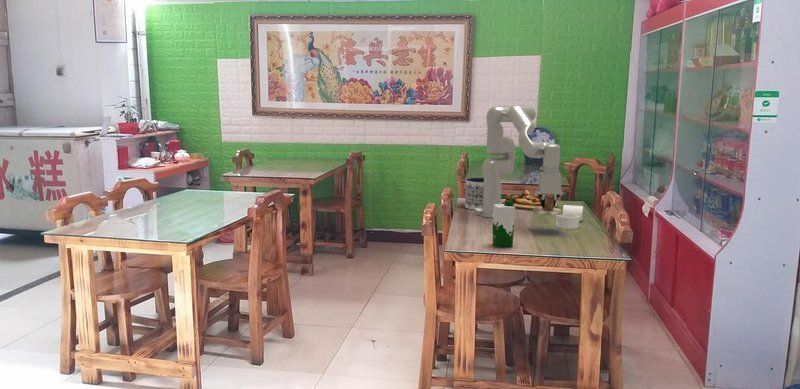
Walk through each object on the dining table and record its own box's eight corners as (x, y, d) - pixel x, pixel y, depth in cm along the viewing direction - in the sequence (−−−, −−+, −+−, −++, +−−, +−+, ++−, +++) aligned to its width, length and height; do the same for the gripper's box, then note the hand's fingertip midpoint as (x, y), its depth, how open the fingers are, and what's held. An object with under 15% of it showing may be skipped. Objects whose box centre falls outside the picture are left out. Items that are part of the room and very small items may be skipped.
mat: (534, 236, 296) (534, 235, 296) (527, 229, 312) (527, 228, 312) (568, 236, 296) (568, 236, 296) (559, 229, 312) (559, 228, 312)
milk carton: (515, 247, 275) (517, 202, 272) (494, 247, 275) (496, 202, 271) (509, 242, 284) (511, 199, 281) (490, 242, 283) (491, 199, 280)
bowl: (558, 229, 312) (559, 217, 311) (553, 224, 322) (554, 213, 321) (581, 229, 312) (581, 217, 311) (574, 224, 323) (575, 213, 322)
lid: (536, 214, 296) (537, 200, 295) (529, 208, 310) (530, 194, 308) (565, 215, 296) (567, 201, 295) (558, 209, 310) (559, 195, 309)
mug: (582, 222, 329) (582, 207, 327) (562, 221, 332) (563, 206, 330) (582, 218, 340) (583, 203, 339) (563, 216, 343) (564, 202, 342)
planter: (497, 211, 356) (499, 182, 353) (465, 210, 356) (466, 181, 354) (494, 205, 373) (495, 177, 371) (464, 204, 374) (464, 177, 372)
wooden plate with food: (505, 210, 360) (506, 196, 358) (499, 200, 391) (500, 186, 390) (561, 212, 358) (562, 198, 357) (551, 202, 390) (552, 189, 388)
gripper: (534, 170, 295) (532, 208, 299) (570, 171, 295) (567, 209, 299) (531, 168, 303) (528, 205, 306) (566, 169, 303) (563, 206, 306)
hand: (547, 207), depth 303 cm, fingers closed on lid, 4 cm apart
